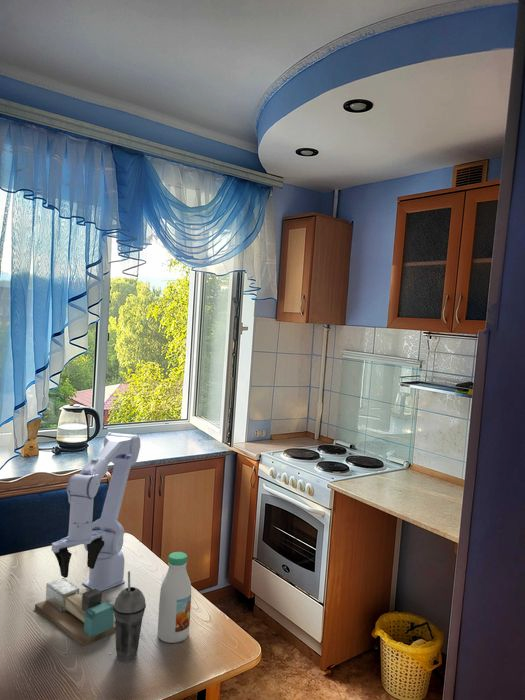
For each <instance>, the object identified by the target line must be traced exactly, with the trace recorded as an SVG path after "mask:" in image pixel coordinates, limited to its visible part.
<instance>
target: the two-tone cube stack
mask: <svg viewBox="0 0 525 700" xmlns="http://www.w3.org/2000/svg"><path fill="white" fill-rule="evenodd" d="M102 592H103V591H101V592H100V591H99V590H97V589H96V588H95V589H93V590H92V589H91V590H87V591H84V592H83V593H82V596H81V595H80V593H79V594H77V593H76V592H74V593H71V594H69V595H66V596H64V608H65V609H66V610H68V611H69V612H71V613H72V614H73V615H75V616H76V617H78V618H79V619H80V620H82V621H83V622H84V619H85V610H87V609H89V608H91V607H94V606H96V605H99V604H101V603H102V598H103V597H102V596H103V594H102Z"/></svg>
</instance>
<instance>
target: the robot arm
mask: <svg viewBox="0 0 525 700" xmlns="http://www.w3.org/2000/svg"><path fill="white" fill-rule="evenodd" d="M140 450H141V438H140V436H139V435H138V434H129V433H119V432H112V431H109V432H108V433H107V434H106V435H105V436H104V440H103V448H102V449H101V451H100V453H99V454H98V456H97V457H92V458H91V459H90V460H89V461H88V462H87V463H86V465H85V466H84V467H83V468H82V470H80V472H79V473H75V474H73V475H72V476H71V477H69V480H68V482H67V486H66V494H67V497H68V498H67V499H68V504H69V520H68V521H69V522H68V534H67V536H66V537H63V538H61V539H60V540H57V541H55V542H52V543H51V552H52V553H53V554H54V556H55V558H56V560H57V563H58V566H59V571H60V576H61V577H63V578H64V579H66V578H68V576H69V571H70V570H69V568H70V566H69V565H70V562H71V557H72V555H73V554H72V553H71V552H70V551H69V549H71V548H73V547H77V546H79V545H83V547H84V549H85V551H86V552H87V560H86V561H87V562H86V563H87V567H88V568H89V572H88V574H89V575H88V579H85V580H83V581H82V582H81V583H82V584H83V585H84V586H86V587H88V588H89V589H91V590H93V589H95V588H96V589H97V590H99V591H100V592H103V591H105V590H108V589H112V588H113V587H114V588H115V587H116V586H119V585H121V584H123V583H124V584H125V583H126V580H125V579H124V576H125V575H124V574H125V557H124V555H125V554H124V552H122V549H123V545H124V536H125V528H124V527H123V525H122V524H121V523H120V522H119V521H118V519H119V515H120V511H121V506H122V503H123V498H124V496H125V495H124V494H125V491H126V487H127V482H128V480H129V479H128V478H129V474H130V471H131V467H132V466H133V465H135V464H136V463H137V460H138V458H139V455H140V454H139V453H140ZM110 463H112V464H113V469H112V473H111V477H110V482H109V484H108V489H107V492H106V496H105V500H104V503H103V507H102V510H101V511H102V512H101V515H100V518H98V519H96V520H95V521H93V514H94V501H95V500H94V498H95V497H96V495H97V494H98V491H99V487H100V485H101V480H102V479H103V478H104V477H105V476H106V475H107V473H108V471H109V465H110Z"/></svg>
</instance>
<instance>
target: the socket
mask: <svg viewBox="0 0 525 700" xmlns="http://www.w3.org/2000/svg"><path fill="white" fill-rule="evenodd" d="M113 607H114V604H113V603H111V602H109V601H108V600H107V601H105V602H101V604H99V605H96V606H94V607H91V608H89V609H87V610H85V619H84V633H85V634H86V635H88V636H89V637H90V638H91V637H94V636H96V635H98V634H100V633H102V632H105V631H107V630H109V629H111V628H113V621H115V616H114V609H113Z"/></svg>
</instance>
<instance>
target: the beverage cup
mask: <svg viewBox="0 0 525 700" xmlns="http://www.w3.org/2000/svg"><path fill="white" fill-rule="evenodd" d="M113 605H114V607H113V609H114V621H115V630H116V631H115V651H116V652H115V653H116V659H117V660H118V661H120V662H124V663H128V662H127V661H129V662H132V661H134V660H135V659H136V658H137V657H138V655H137V654H138V650H139V643H140V638H141V637H140V636H141V630H142V625H143V624H142V623H143V617H144V614H145V610H146V608H147V604H146V598H145V595H144V593H143V592H142V591H141V590H140V589H139V588H137V587H135V586H131V571H130V570H129V571H128V572H127V587H125V588H123V589H122V590H121V591H120V592H119V593H118V594H117V596H116V598H115V601H114V604H113ZM136 656H137V657H136ZM135 657H136V658H135ZM134 658H135V659H134ZM133 659H134V660H133ZM131 660H132V661H131Z"/></svg>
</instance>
